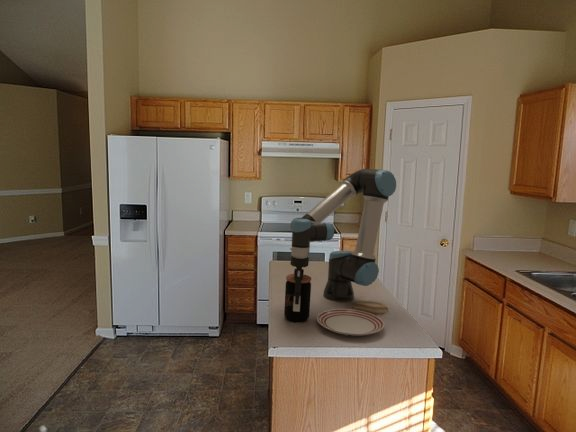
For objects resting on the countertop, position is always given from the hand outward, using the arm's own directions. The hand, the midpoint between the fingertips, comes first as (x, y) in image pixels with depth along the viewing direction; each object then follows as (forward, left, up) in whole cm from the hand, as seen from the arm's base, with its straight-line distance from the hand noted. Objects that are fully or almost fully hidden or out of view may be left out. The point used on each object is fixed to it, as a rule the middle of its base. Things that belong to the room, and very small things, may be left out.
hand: (296, 305), depth 170 cm
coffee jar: (0, 0, -6) cm, 6 cm away
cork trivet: (-18, +34, -6) cm, 39 cm away
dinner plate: (+5, +22, -6) cm, 24 cm away
